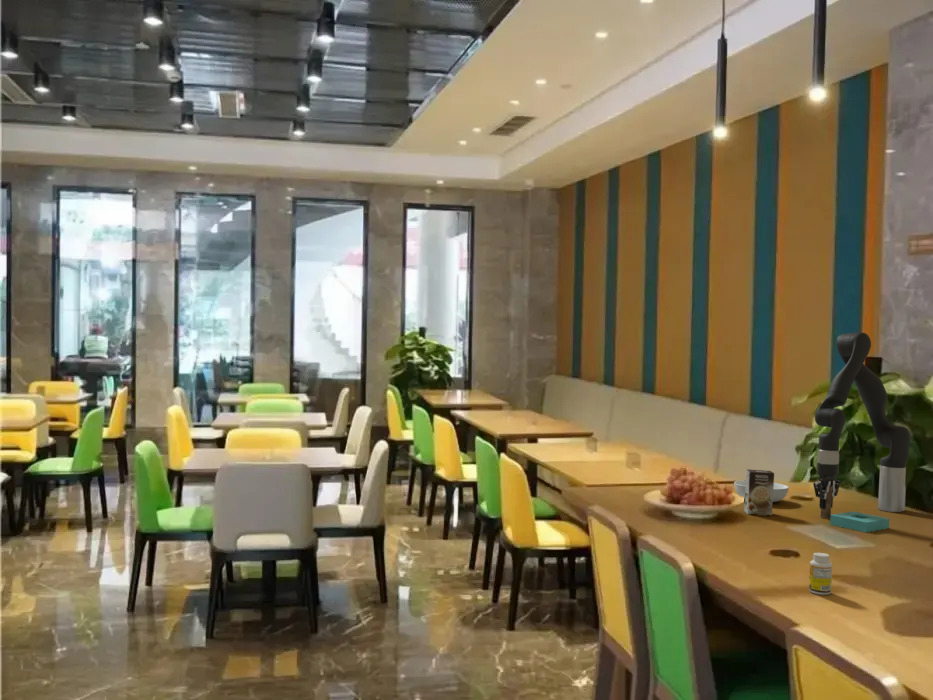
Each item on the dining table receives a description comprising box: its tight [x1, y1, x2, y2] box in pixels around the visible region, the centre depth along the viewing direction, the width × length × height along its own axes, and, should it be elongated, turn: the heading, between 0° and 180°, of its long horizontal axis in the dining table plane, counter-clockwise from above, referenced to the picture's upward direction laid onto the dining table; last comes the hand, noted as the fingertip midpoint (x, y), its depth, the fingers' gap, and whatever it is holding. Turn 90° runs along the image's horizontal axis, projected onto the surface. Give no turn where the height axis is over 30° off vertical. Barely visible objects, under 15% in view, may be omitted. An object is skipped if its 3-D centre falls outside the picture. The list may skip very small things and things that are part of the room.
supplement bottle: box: [808, 552, 833, 596], centre depth 250 cm, size 6×6×10 cm
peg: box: [820, 486, 832, 520], centre depth 349 cm, size 4×4×12 cm
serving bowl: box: [733, 479, 789, 503], centre depth 379 cm, size 21×21×7 cm
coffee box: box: [743, 468, 775, 516], centre depth 354 cm, size 9×6×16 cm
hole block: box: [829, 511, 890, 533], centre depth 336 cm, size 14×14×4 cm
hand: (825, 508), depth 349 cm, fingers closed on peg, 3 cm apart
